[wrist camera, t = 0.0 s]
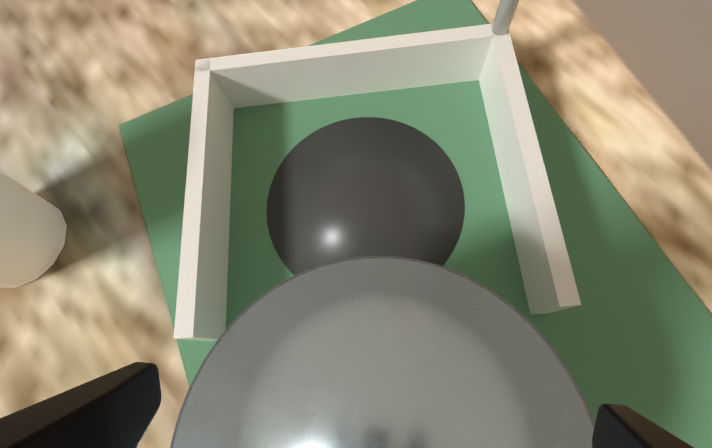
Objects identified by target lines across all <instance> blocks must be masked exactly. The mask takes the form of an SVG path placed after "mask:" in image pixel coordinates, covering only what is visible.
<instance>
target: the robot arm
mask: <svg viewBox="0 0 712 448" xmlns="http://www.w3.org/2000/svg"><path fill="white" fill-rule="evenodd" d="M160 403H161V389H160V380H159V372H158V368H157V366H156V365H155V364H153V363H144V362H135V363H132V364H130V365H128V366H125V367H123V368H120V369H118V370H116V371H113V372H111V373H108V374H106V375H104V376H101V377H99V378H96V379H94V380H92V381H89V382H87V383H84V384H82V385H80V386H77V387H75V388H72V389H70V390H68V391H65V392H63V393H60V394H58V395H56V396H53V397H51V398H48V399H46V400H44V401H41V402H39V403H36V404H34V405H32V406H29V407H27V408H24V409H22V410H20V411H17V412H15V413H12V414H10V415H8V416H5V417H3V418H0V448H137V446H138V444H139V443H140V441H141V439H142V437H143V435H144V434H145V432H146V430H147V428H148V426H149V425H150V423H151V421H152V419H153V418H154V416H155V414H156V412H157V410H158V408H159V406H160ZM592 448H694V447H693V446H691V445H689V444H688V443H686V442H684V441H683V440H681V439H680V438H678V437H676V436H675V435H673V434H671V433H670V432H668V431H667V430H665V429H663V428H662V427H660V426H658V425H657V424H655V423H654V422H652V421H650V420H649V419H647V418H645V417H644V416H642V415H641V414H639V413H637V412H636V411H634V410H632V409H631V408H629V407H627V406H625V405H619V404H608V403H604V404H601V405H600V406H599V408H598V411H597V416H596V421H595V426H594V431H593V436H592Z"/></svg>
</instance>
